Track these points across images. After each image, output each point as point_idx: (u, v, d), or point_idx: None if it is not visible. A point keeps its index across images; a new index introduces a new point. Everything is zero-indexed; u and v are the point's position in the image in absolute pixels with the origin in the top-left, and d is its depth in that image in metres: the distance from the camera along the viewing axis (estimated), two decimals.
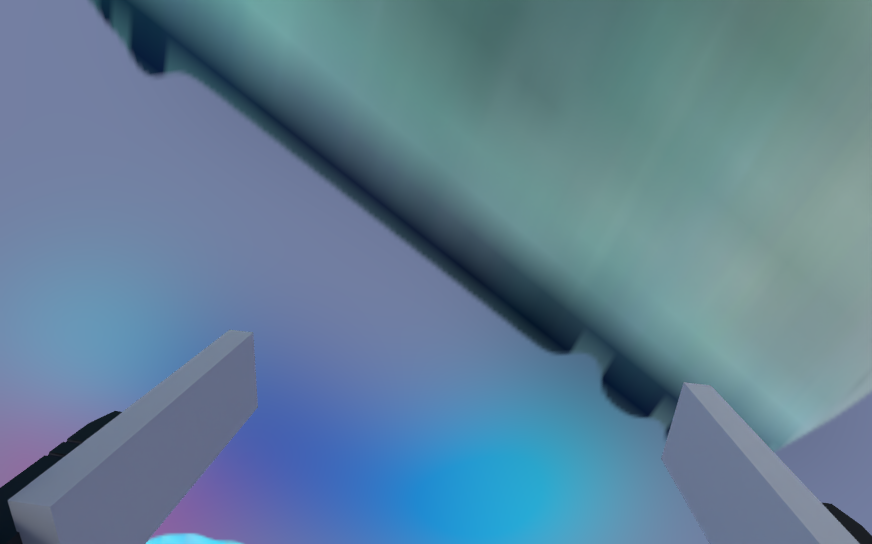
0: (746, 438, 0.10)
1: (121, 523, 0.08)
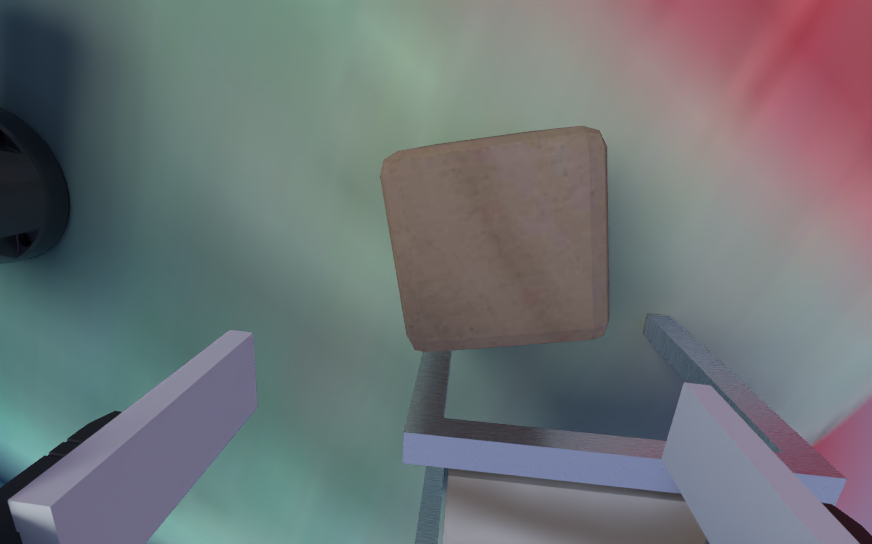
0: (746, 438, 0.10)
1: (121, 523, 0.08)
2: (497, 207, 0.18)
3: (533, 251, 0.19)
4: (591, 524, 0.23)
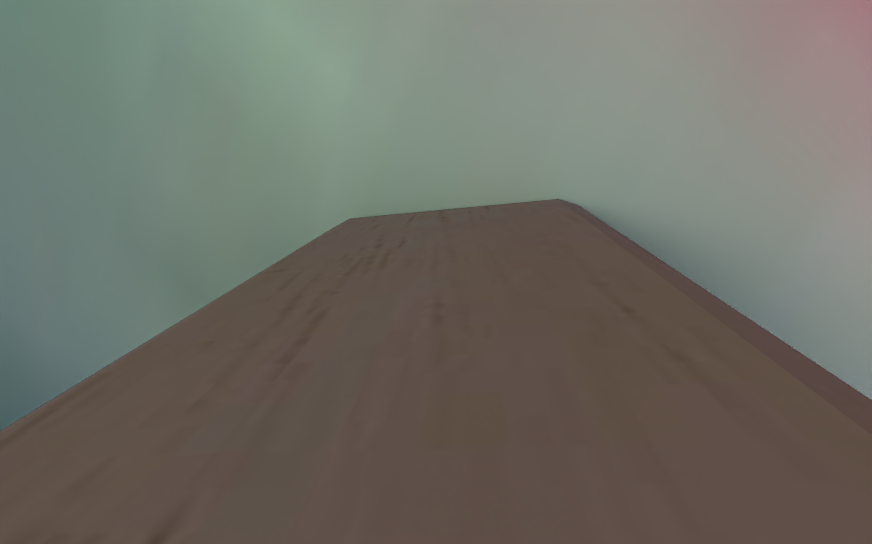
0: None
1: None
2: None
3: None
4: None
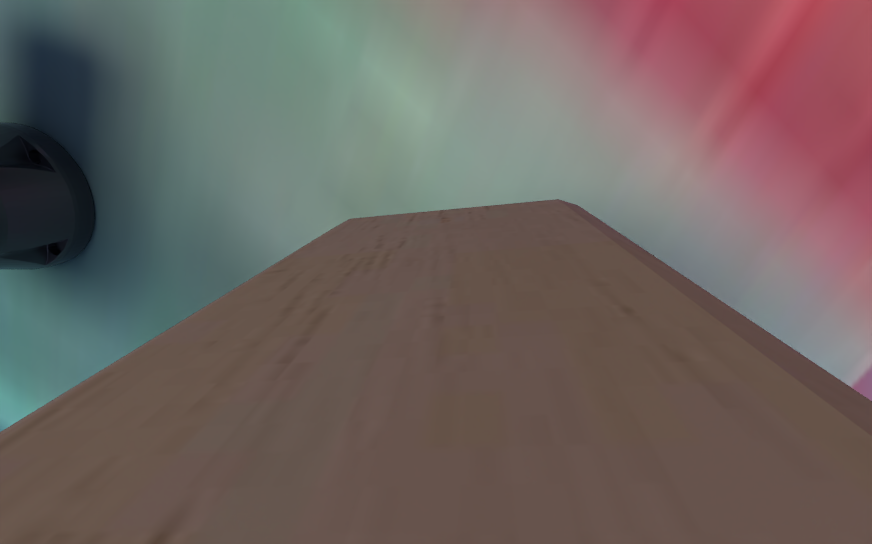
0: None
1: None
2: None
3: None
4: None
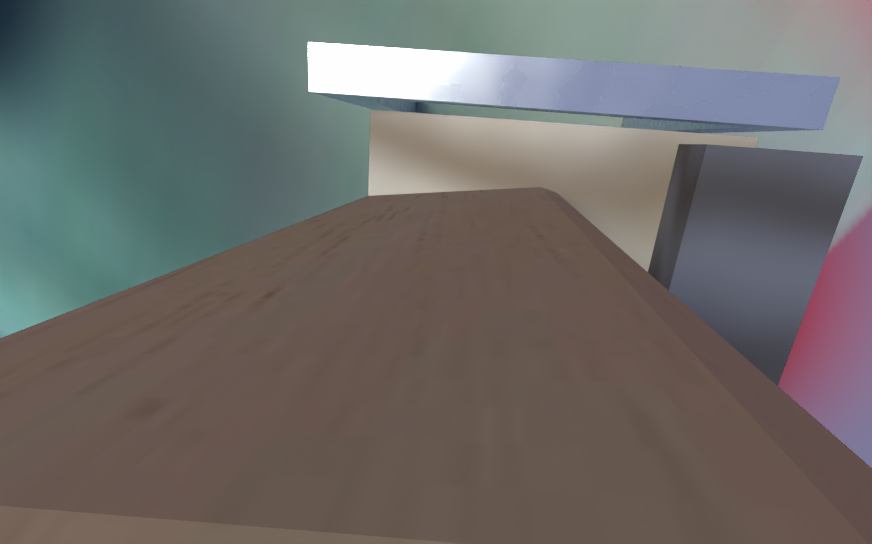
0: None
1: None
2: None
3: None
4: (531, 171, 0.20)
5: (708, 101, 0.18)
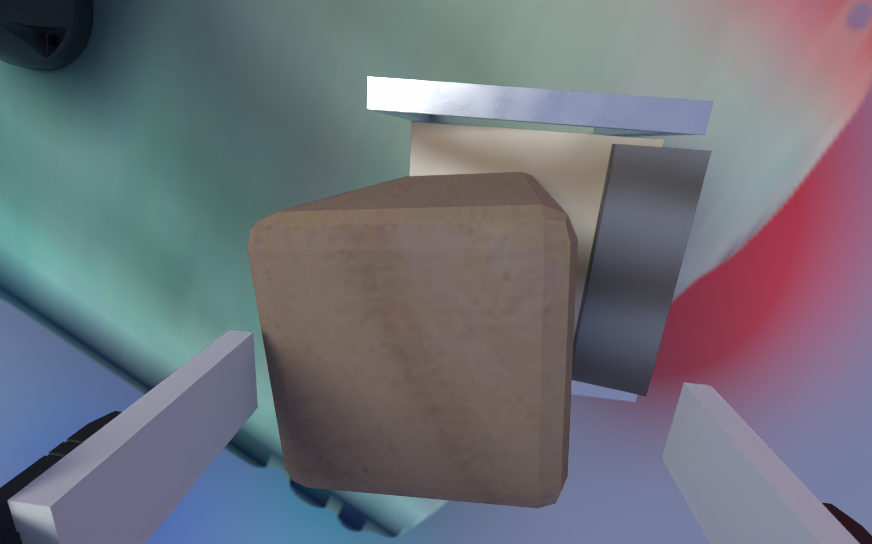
0: (746, 438, 0.10)
1: (121, 523, 0.08)
2: (403, 313, 0.12)
3: (455, 380, 0.13)
4: (516, 162, 0.30)
5: (630, 116, 0.27)
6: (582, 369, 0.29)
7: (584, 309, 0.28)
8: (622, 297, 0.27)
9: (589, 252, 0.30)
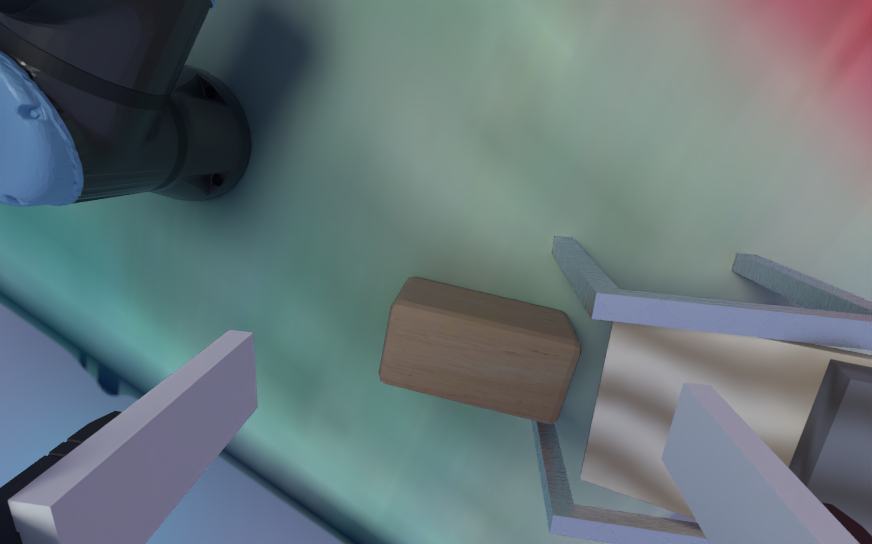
0: (746, 438, 0.10)
1: (121, 523, 0.08)
2: None
3: None
4: (722, 358, 0.32)
5: (853, 337, 0.29)
6: None
7: None
8: (841, 509, 0.29)
9: (794, 447, 0.32)
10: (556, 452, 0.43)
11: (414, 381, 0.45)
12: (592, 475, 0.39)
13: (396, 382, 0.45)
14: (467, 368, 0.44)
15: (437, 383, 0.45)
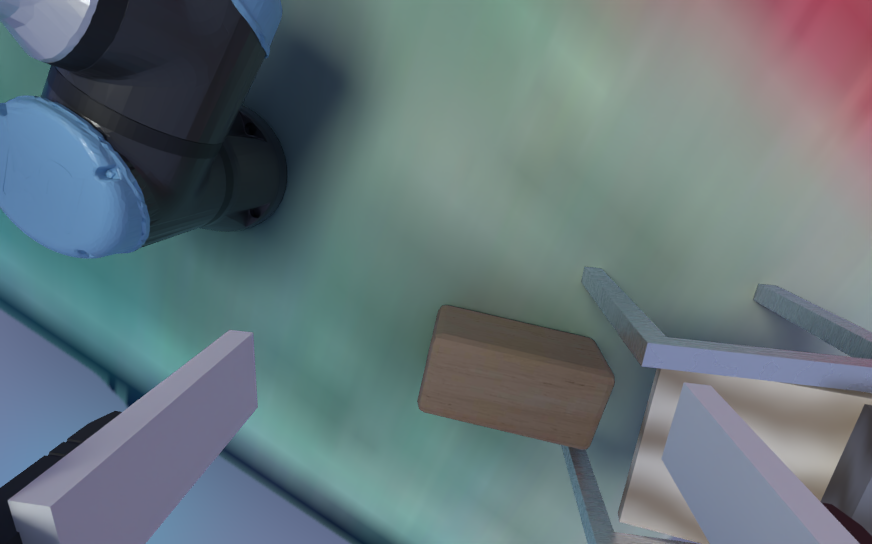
0: (746, 438, 0.10)
1: (121, 523, 0.08)
2: None
3: None
4: (765, 405, 0.33)
5: None
6: None
7: None
8: None
9: (827, 482, 0.34)
10: (590, 477, 0.45)
11: (453, 410, 0.47)
12: (632, 517, 0.39)
13: (436, 410, 0.47)
14: (505, 398, 0.46)
15: (476, 412, 0.47)
